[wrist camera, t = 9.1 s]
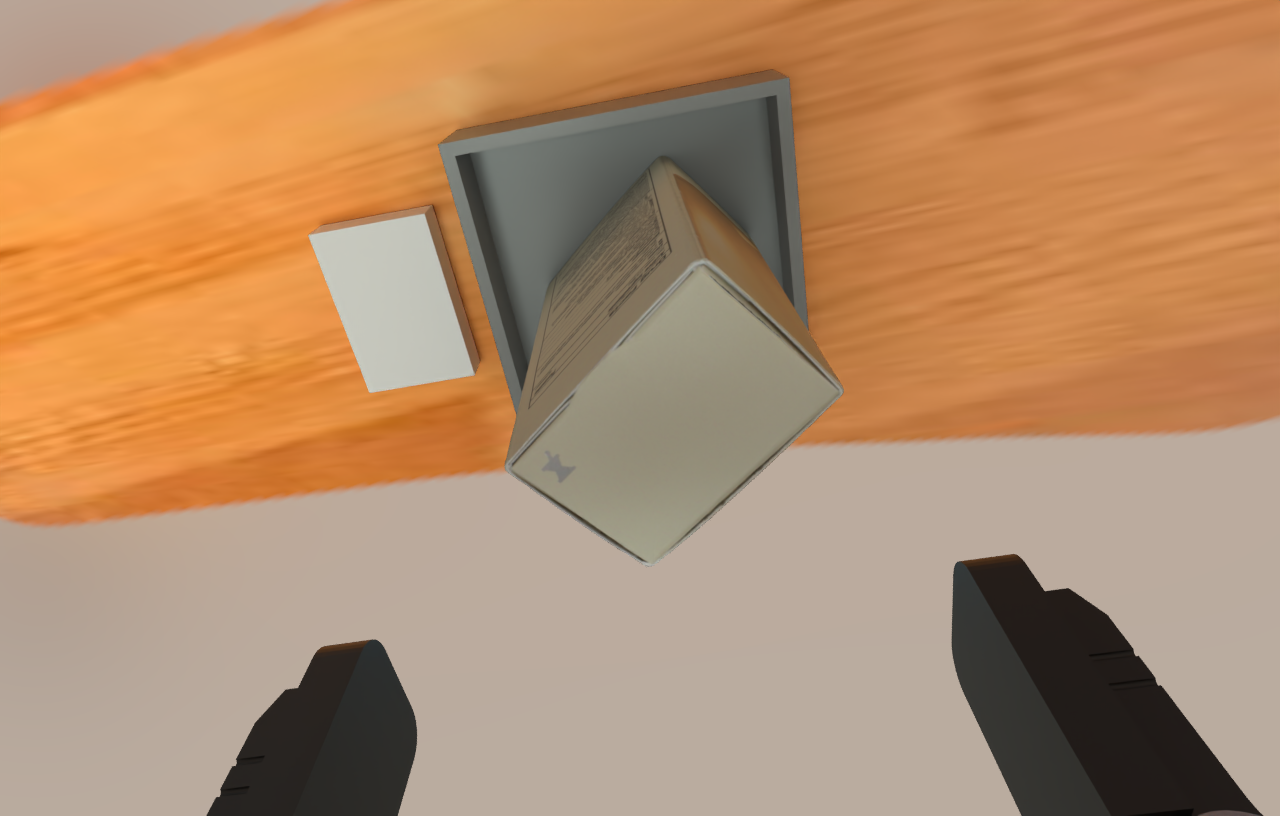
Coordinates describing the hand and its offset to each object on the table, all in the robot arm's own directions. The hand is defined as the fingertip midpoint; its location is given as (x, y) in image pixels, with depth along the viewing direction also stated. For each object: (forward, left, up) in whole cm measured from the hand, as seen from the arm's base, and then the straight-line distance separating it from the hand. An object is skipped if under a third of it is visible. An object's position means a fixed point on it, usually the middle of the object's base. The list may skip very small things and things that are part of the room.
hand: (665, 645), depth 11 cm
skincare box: (0, 0, -18) cm, 18 cm away
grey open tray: (+3, +1, -19) cm, 19 cm away
